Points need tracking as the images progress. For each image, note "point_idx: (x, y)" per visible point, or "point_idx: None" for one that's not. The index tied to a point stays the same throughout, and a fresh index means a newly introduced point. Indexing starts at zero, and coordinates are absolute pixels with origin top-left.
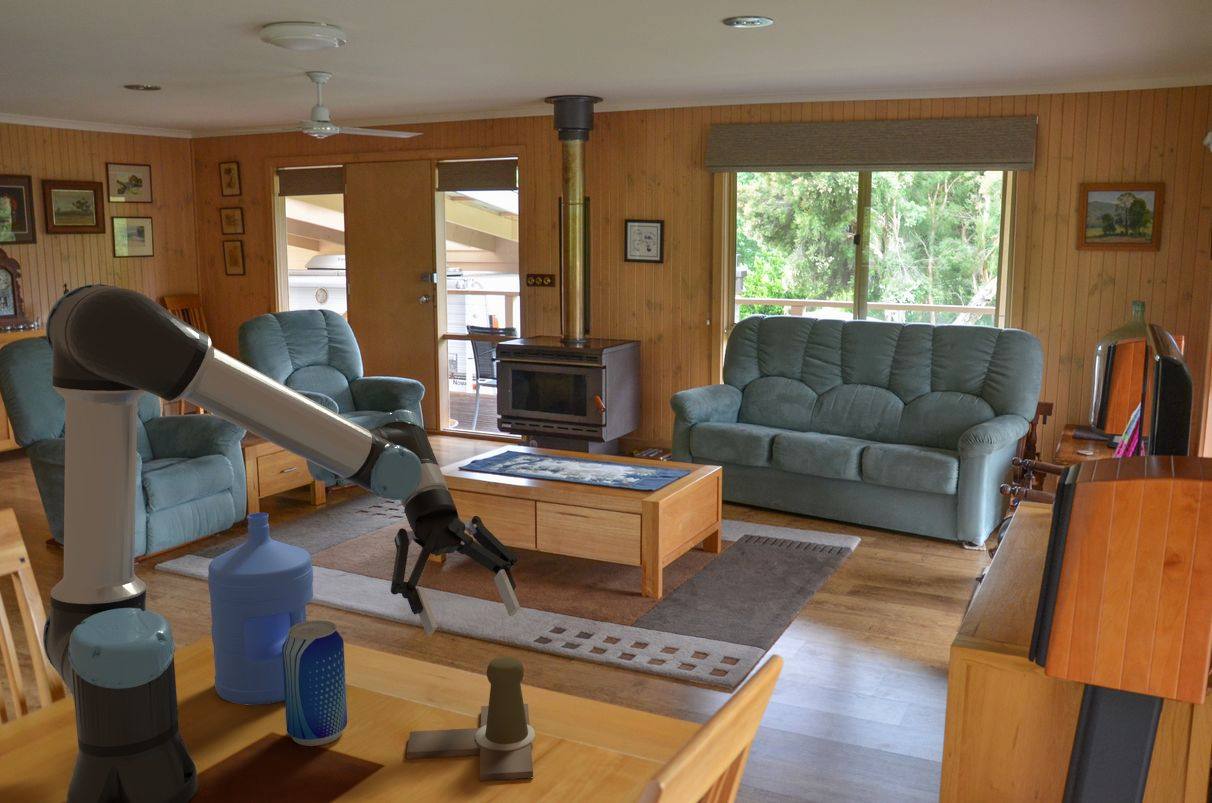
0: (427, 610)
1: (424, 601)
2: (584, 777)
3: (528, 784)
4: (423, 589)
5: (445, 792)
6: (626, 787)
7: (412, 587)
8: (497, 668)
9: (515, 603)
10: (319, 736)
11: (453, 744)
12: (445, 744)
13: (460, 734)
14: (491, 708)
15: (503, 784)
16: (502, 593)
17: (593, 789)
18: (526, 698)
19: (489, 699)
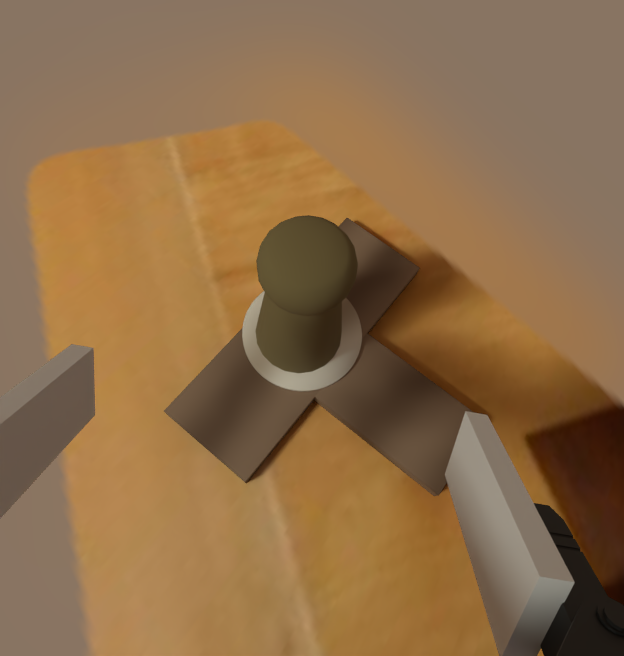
0: (507, 464)
1: (523, 501)
2: (284, 177)
3: (362, 218)
4: (531, 555)
5: (477, 287)
6: (262, 124)
7: (609, 600)
8: (347, 241)
9: (75, 356)
10: None
11: (397, 380)
12: (409, 392)
13: (363, 403)
14: (341, 309)
15: (391, 243)
16: (32, 461)
17: (299, 150)
18: (122, 463)
19: (336, 318)
